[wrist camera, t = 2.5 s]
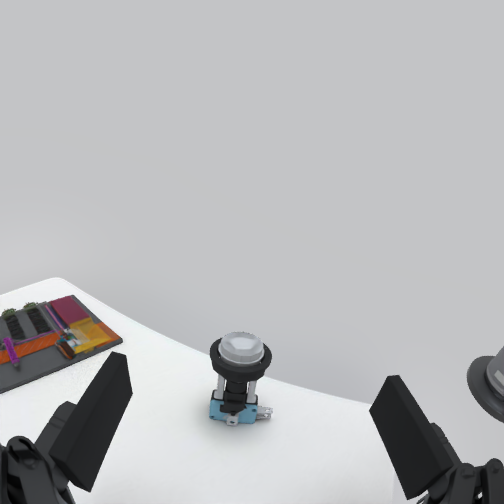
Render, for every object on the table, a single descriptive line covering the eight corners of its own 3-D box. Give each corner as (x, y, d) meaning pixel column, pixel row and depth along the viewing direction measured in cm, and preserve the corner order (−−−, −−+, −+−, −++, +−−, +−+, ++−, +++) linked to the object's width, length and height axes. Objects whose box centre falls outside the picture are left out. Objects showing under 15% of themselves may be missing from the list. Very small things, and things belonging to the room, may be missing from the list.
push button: (269, 402, 27) (286, 331, 24) (270, 438, 22) (292, 367, 19) (210, 395, 27) (215, 323, 24) (203, 430, 22) (205, 357, 19)
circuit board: (73, 297, 42) (72, 284, 41) (122, 342, 33) (120, 326, 33) (-38, 331, 21) (-43, 316, 20) (-26, 403, 12) (-36, 385, 12)
